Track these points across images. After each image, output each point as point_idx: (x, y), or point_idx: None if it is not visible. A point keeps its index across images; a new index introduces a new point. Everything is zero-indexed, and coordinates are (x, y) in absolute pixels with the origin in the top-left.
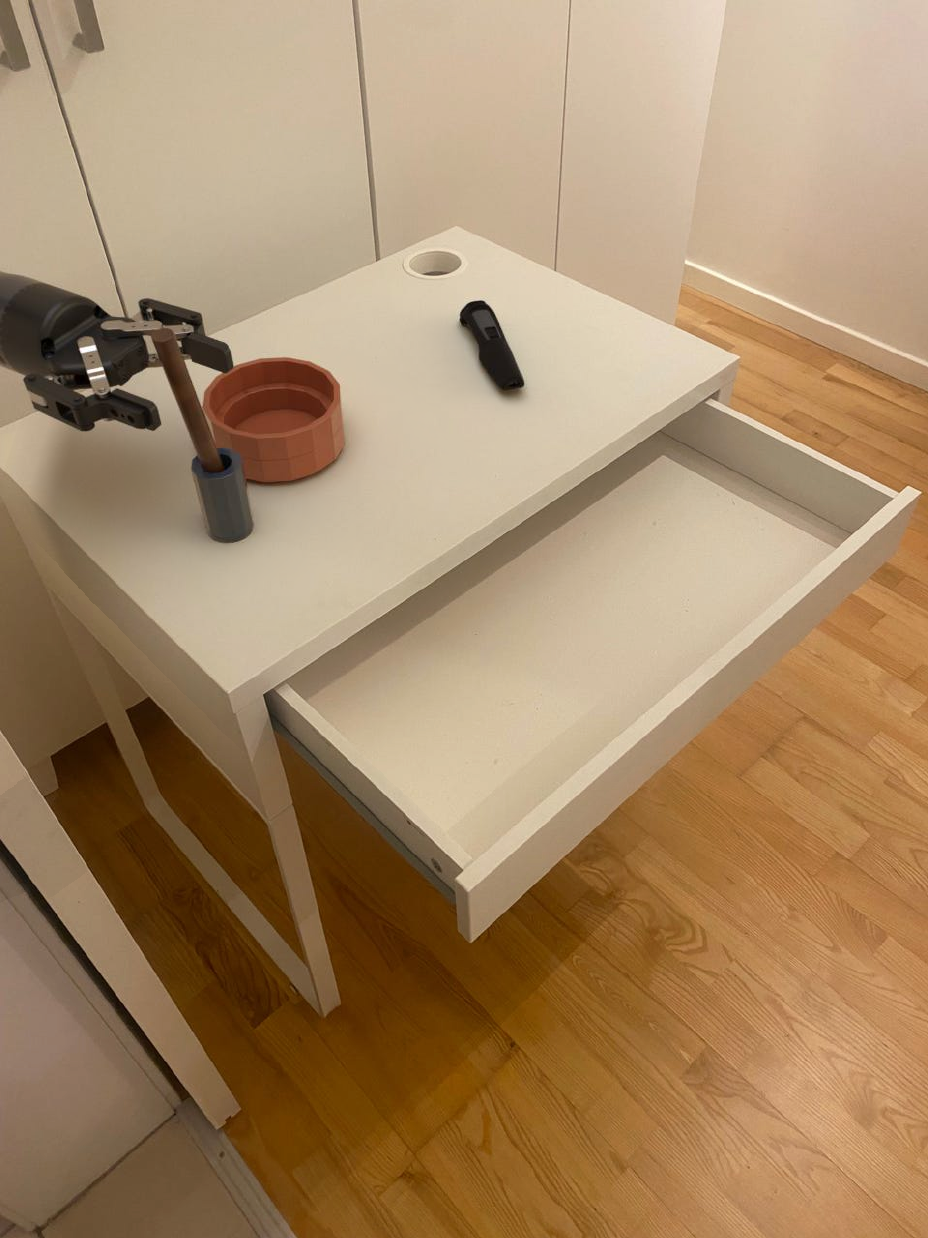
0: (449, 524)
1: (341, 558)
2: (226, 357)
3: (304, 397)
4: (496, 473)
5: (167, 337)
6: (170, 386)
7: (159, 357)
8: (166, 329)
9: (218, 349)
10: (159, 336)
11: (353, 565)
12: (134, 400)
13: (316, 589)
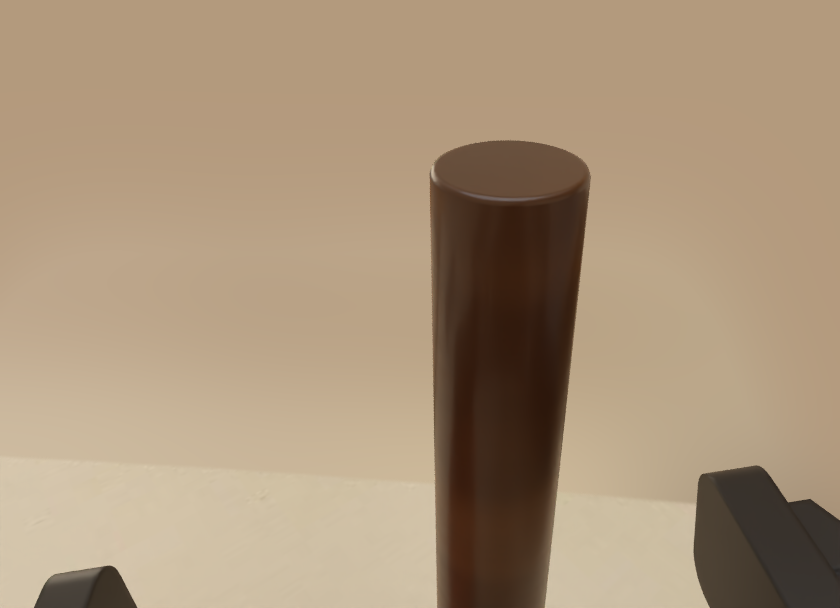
0: (212, 503)
1: (407, 586)
2: (120, 582)
3: None
4: (29, 525)
5: (511, 145)
6: (555, 490)
7: (576, 306)
8: (452, 175)
9: (98, 589)
10: (538, 163)
11: (410, 556)
12: (802, 544)
13: None
